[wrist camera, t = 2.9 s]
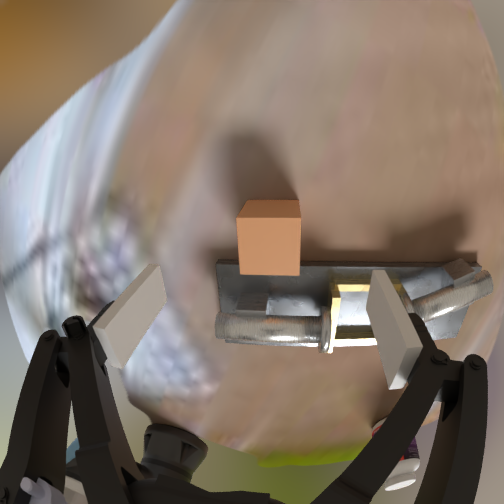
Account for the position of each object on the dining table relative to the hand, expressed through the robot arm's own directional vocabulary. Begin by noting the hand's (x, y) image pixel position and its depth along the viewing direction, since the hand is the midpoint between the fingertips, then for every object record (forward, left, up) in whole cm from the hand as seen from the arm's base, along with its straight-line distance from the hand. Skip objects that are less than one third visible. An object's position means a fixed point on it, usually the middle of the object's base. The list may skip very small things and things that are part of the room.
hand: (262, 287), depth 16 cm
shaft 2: (+19, -6, -11) cm, 23 cm away
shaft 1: (0, -10, -11) cm, 15 cm away
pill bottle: (+23, -39, -13) cm, 47 cm away
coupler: (0, 0, -12) cm, 12 cm away
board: (+10, -10, -12) cm, 19 cm away
